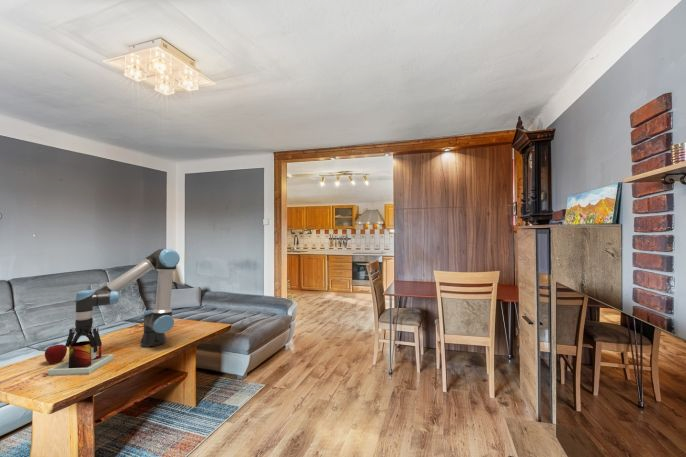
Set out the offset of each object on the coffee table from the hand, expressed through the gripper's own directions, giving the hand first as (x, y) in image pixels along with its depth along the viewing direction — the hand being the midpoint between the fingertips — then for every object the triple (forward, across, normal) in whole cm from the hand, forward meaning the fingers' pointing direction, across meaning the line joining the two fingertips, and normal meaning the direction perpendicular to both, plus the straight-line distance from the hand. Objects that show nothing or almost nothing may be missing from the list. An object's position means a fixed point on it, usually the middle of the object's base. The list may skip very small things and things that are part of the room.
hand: (83, 358), depth 171 cm
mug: (+3, 0, 0) cm, 3 cm away
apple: (+5, +21, -9) cm, 23 cm away
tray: (+5, 0, 0) cm, 5 cm away
